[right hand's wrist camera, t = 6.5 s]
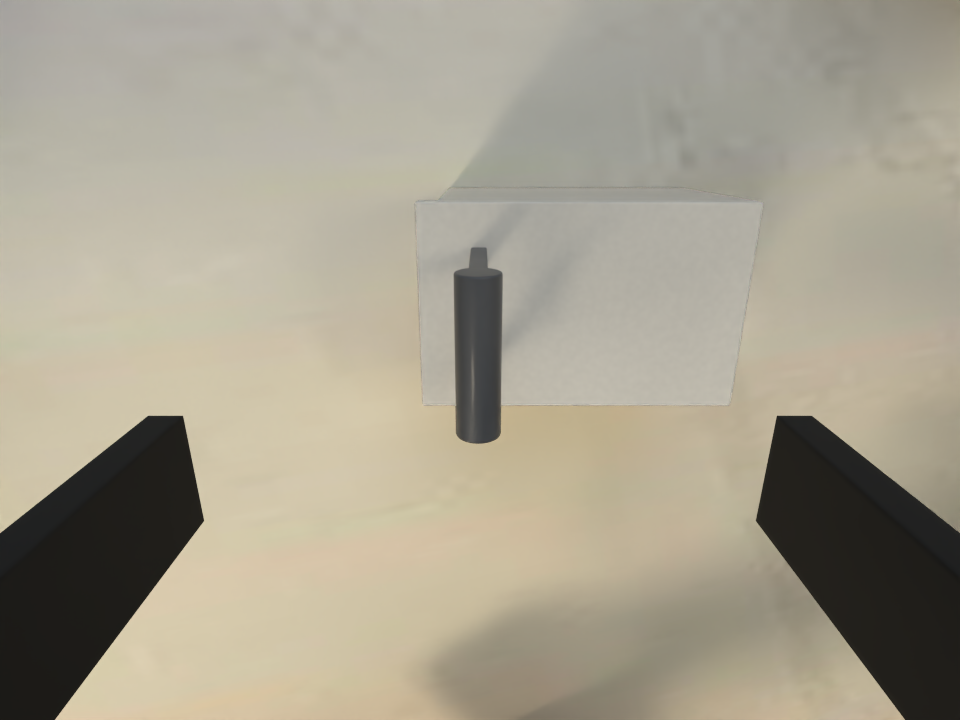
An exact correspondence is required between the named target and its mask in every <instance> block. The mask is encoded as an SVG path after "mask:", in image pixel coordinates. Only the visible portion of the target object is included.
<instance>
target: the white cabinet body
mask: <svg viewBox="0 0 960 720" xmlns="http://www.w3.org/2000/svg"><path fill="white" fill-rule="evenodd" d="M439 200H750V199H745V198H739V197H733V196H727V195H722V194H716V193H710V192H704V191H698V190H693V189H687V188H449V189H448V190H447V191H446V192H445V193H444V194H443V195H442V197H441V198H440V199H439Z"/></svg>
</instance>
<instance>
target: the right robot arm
mask: <svg viewBox="0 0 960 720" xmlns="http://www.w3.org/2000/svg"><path fill="white" fill-rule="evenodd" d="M203 521H204V518H203V513H202V508H201V503H200V498H199V493H198V488H197V483H196V478H195V473H194V468H193V463H192V458H191V453H190V449H189V444H188V439H187V434H186V429H185V424H184V419H183V416H148V417H146V418H145V419H144V420H143V421H141V422H140V423H139V424H137V425H136V426H135V427H134V428H132V429H131V430H130V431H129V432H127V433H126V434H125V435H124V436H122V437H121V438H120V439H119V440H117V441H116V442H115V443H114V444H112V445H111V446H110V447H108V448H107V449H106V450H105V451H103V452H102V453H101V454H100V455H98V456H97V457H96V458H95V459H93V460H92V461H91V462H90V463H88V464H87V465H86V466H84V467H83V468H82V469H81V470H79V471H78V472H77V473H76V474H74V475H73V476H72V477H71V478H69V479H68V480H67V481H66V482H64V483H63V484H62V485H61V486H59V487H58V488H57V489H55V490H54V491H53V492H52V493H50V494H49V495H48V496H47V497H45V498H44V499H43V500H42V501H40V502H39V503H38V504H37V505H35V506H34V507H33V508H32V509H30V510H29V511H28V512H26V513H25V514H24V515H23V516H21V517H20V518H19V519H18V520H16V521H15V522H14V523H13V524H11V525H10V526H9V527H8V528H6V529H5V530H4V531H2V532H1V533H0V720H55V719H56V717H57V716H58V715H59V713H60V712H61V711H62V709H63V708H64V707H65V705H66V704H67V703H68V701H69V700H70V699H71V697H72V696H73V695H74V693H75V692H76V691H77V689H78V688H79V687H80V685H81V684H82V683H83V681H84V680H85V679H86V677H87V676H88V675H89V673H90V672H91V671H92V669H93V668H94V667H95V665H96V664H97V663H98V661H99V660H100V659H101V657H102V656H103V655H104V653H105V652H106V651H107V649H108V648H109V647H110V645H111V644H112V643H113V641H114V640H115V639H116V637H117V636H118V635H119V633H120V632H121V631H122V629H123V628H124V627H125V625H126V624H127V623H128V621H129V620H130V619H131V617H132V616H133V615H134V613H135V612H136V611H137V609H138V608H139V607H140V605H141V604H142V603H143V601H144V600H145V599H146V597H147V596H148V595H149V593H150V592H151V591H152V589H153V588H154V587H155V585H156V584H157V583H158V581H159V580H160V579H161V577H162V576H163V575H164V573H165V572H166V571H167V569H168V568H169V567H170V565H171V564H172V563H173V561H174V560H175V559H176V557H177V556H178V555H179V553H180V552H181V551H182V549H183V548H184V547H185V545H186V544H187V543H188V541H189V540H190V539H191V537H192V536H193V535H194V533H195V532H196V531H197V529H198V528H199V527H200V525H201V524H202V523H203ZM756 521H757V523H758V524H759V525H760V527H761V528H762V529H763V531H764V532H765V533H766V535H767V536H768V537H769V539H770V540H771V541H772V543H773V544H774V545H775V547H776V548H777V549H778V551H779V552H780V553H781V555H782V556H783V557H784V559H785V560H786V561H787V563H788V564H789V565H790V567H791V568H792V569H793V571H794V572H795V573H796V575H797V576H798V577H799V579H800V580H801V581H802V583H803V584H804V585H805V587H806V588H807V589H808V591H809V592H810V593H811V595H812V596H813V597H814V599H815V600H816V601H817V603H818V604H819V605H820V607H821V608H822V609H823V611H824V612H825V613H826V615H827V616H828V617H829V619H830V620H831V621H832V623H833V624H834V625H835V627H836V628H837V629H838V631H839V632H840V633H841V635H842V636H843V637H844V639H845V640H846V641H847V643H848V644H849V645H850V647H851V648H852V649H853V651H854V652H855V653H856V655H857V656H858V657H859V659H860V660H861V661H862V663H863V664H864V665H865V667H866V668H867V669H868V671H869V672H870V673H871V675H872V676H873V677H874V679H875V680H876V681H877V683H878V684H879V685H880V687H881V688H882V689H883V691H884V692H885V693H886V695H887V696H888V697H889V699H890V700H891V701H892V703H893V704H894V705H895V707H896V708H897V709H898V711H899V712H900V713H901V715H902V716H903V717H904V719H905V720H960V533H959V532H958V531H956V530H955V529H954V528H952V527H951V526H950V525H949V524H947V523H946V522H945V521H944V520H942V519H941V518H940V517H939V516H937V515H936V514H935V513H934V512H932V511H931V510H930V509H928V508H927V507H926V506H925V505H923V504H922V503H921V502H920V501H918V500H917V499H916V498H915V497H913V496H912V495H911V494H910V493H908V492H907V491H906V490H905V489H903V488H902V487H901V486H899V485H898V484H897V483H896V482H894V481H893V480H892V479H891V478H889V477H888V476H887V475H886V474H884V473H883V472H882V471H881V470H879V469H878V468H877V467H876V466H874V465H873V464H872V463H870V462H869V461H868V460H867V459H865V458H864V457H863V456H862V455H860V454H859V453H858V452H857V451H855V450H854V449H853V448H852V447H850V446H849V445H848V444H846V443H845V442H844V441H843V440H841V439H840V438H839V437H838V436H836V435H835V434H834V433H833V432H831V431H830V430H829V429H828V428H826V427H825V426H824V425H823V424H821V423H820V422H819V421H817V420H816V419H815V418H814V417H812V416H777V419H776V424H775V429H774V434H773V439H772V444H771V449H770V453H769V458H768V463H767V468H766V473H765V478H764V483H763V488H762V493H761V498H760V503H759V508H758V513H757V518H756Z"/></svg>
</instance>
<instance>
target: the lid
mask: <svg viewBox="0 0 960 720" xmlns="http://www.w3.org/2000/svg"><path fill="white" fill-rule="evenodd" d="M763 206H764V203H763V202H761V201H755V200H418V201H416V202H415V226H416V252H417V278H418V304H419V330H420V355H421V381H422V404H423V406H456V434H457V436H458V437H459V438H460V439H461V440H463V441H465V442H469V443H478V444H479V443H488V442H491V441H494V440H496V439H497V438H498V437H499V436H500V433H501V406H730V402H731V396H732V390H733V384H734V378H735V372H736V366H737V360H738V354H739V348H740V343H741V337H742V331H743V325H744V319H745V313H746V307H747V301H748V295H749V289H750V283H751V277H752V271H753V265H754V259H755V253H756V247H757V241H758V235H759V229H760V223H761V217H762V211H763Z"/></svg>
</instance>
